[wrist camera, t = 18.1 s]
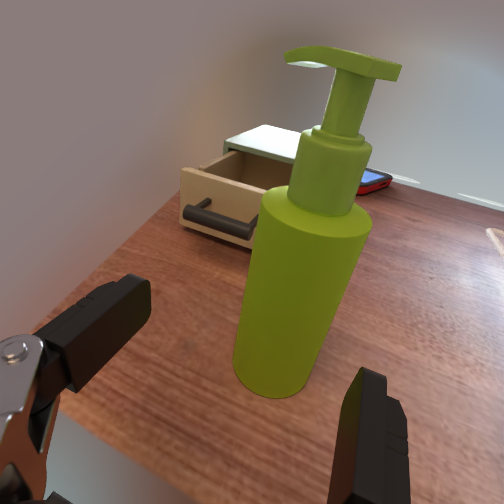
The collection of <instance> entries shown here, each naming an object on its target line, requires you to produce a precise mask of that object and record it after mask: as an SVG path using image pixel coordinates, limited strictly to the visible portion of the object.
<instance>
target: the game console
mask: <svg viewBox="0 0 504 504" xmlns="http://www.w3.org/2000/svg"><path fill="white" fill-rule="evenodd" d="M392 179H393V177H392V176H391V175H389V174H387V173H383V172H380V171H376V170H373V169H369V168H366V169H365V172H364V174H363V177H362V180H361V183H360V185H359V188H358V191H357V194H356V195H363V194H366V193H369V192H372V191H375V190H377V189H380V188H383V187H386V186H389V184H390V182H391V181H392Z"/></svg>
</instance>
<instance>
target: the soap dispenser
mask: <svg viewBox="0 0 504 504" xmlns="http://www.w3.org/2000/svg"><path fill="white" fill-rule="evenodd" d="M284 58H285V61H286V63H288V64H294V65H300V66H306V67H312V68H318V67H325V66H331V67H334V68H336V71H335V75H334V79H333V83H332V86H331V90H330V94H329V98H328V102H327V106H326V109H325V113H324V117H323V121H322V125H316V126H314V127H313V128H312V129H309V130H304V131H303V132H302V133H301V135H300V139H299V143H298V147H297V151H296V156H295V160H294V165H293V169H292V173H291V178H290V182H289V186H280V187H275V188H272V189H270V190H268V191H266V192H265V193H264V194H263V196H262V199H261V205H260V210H259V216H258V221H257V227H256V232H255V238H254V243H253V249H252V254H251V259H250V265H249V270H248V276H247V281H246V287H245V292H244V298H243V303H242V309H241V314H240V320H239V325H238V331H237V336H236V342H235V347H234V353H233V366H234V370H235V372H236V374H237V376H238V378H239V379H240V381H241V382H242V383H243V384H244V385H245V386H246V387H247V388H248V389H250V390H251V391H253V392H254V393H256V394H258V395H261V396H264V397H268V398H286V397H289V396H292V395H294V394H296V393H297V392H299V391H300V390H301V389H302V388H303V387H304V385H305V384H306V382H307V380H308V377H309V375H310V372H311V370H312V368H313V365H314V363H315V361H316V358H317V356H318V353H319V351H320V349H321V346H322V344H323V342H324V339H325V337H326V334H327V332H328V330H329V327H330V325H331V323H332V320H333V318H334V315H335V313H336V311H337V308H338V306H339V304H340V301H341V299H342V296H343V294H344V292H345V289H346V287H347V285H348V282H349V280H350V277H351V275H352V273H353V270H354V268H355V266H356V263H357V261H358V258H359V256H360V254H361V251H362V249H363V247H364V244H365V242H366V239H367V237H368V235H369V232H370V230H371V227H372V220H371V217H370V216H369V214H368V213H367V212H366V211H365V210H364V209H363V208H362V207H360V206H359V205H357V204H356V203H354V199H355V196H356V194H357V191H358V188H359V185H360V183H361V180H362V177H363V174H364V172H365V169H366V166H367V163H368V161H369V157H370V155H371V152H372V146H371V145H370V144H369V143H367V142H366V141H364V140H365V138H364V136H363V135H361V134H359V133H358V132H359V129H360V126H361V123H362V120H363V116H364V113H365V110H366V107H367V104H368V101H369V98H370V95H371V92H372V89H373V86H374V82H375V80H376V79H382V80H388V81H395V82H396V81H397V78H398V76H399V73H400V70H401V68H402V65H400V64H397V63H393V62H390V61H387V60H384V59H380V58H376V57H373V56H368V55H365V54H360V53H356V52H351V51H346V50H342V49H338V48H333V47H327V46H306V47H300V48H296V49H293V50H290V51H287V52H285V53H284Z"/></svg>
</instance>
